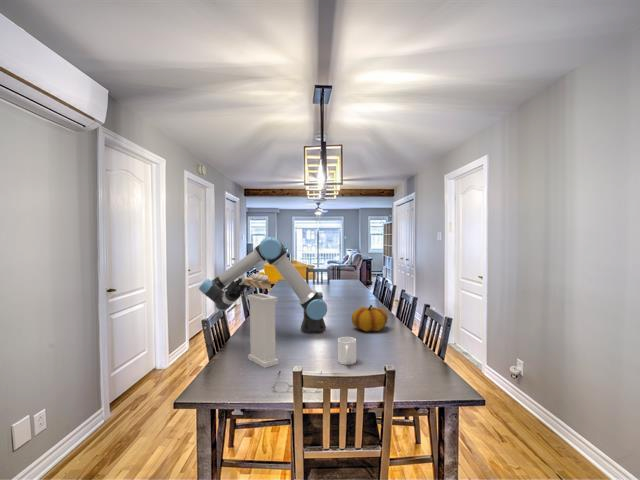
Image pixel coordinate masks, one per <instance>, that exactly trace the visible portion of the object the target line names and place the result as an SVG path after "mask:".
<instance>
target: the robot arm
mask: <svg viewBox="0 0 640 480" xmlns="http://www.w3.org/2000/svg"><path fill="white" fill-rule="evenodd" d="M287 254H288V252H287V251H286V249H285V248H284V246H283V245H282V244H281V242H280V241H279V239H277V238H276V237H274V236H267V237H265V238H263V239H262V240H261V241H260V243H259V244H258V245H256V246H255V247H254V249H253V251H251V252H250V253H248V254H247V255H246V256H244V257H243V258H241V259H240V260H239V261H237V262H236V263H234V264H232V266H230V267H229V268H228V269H226V270H225V271H223V272H222V273H221V274H219V275H218V276H216V277H215V278H213V279H210V278H207V279H205V280H204V281H203V282H202V283H201V285H199V287H198V290H199V291H200V292H201V293H202V294H203V295H205V296H206V297H207V298H209V299H210V300H211V301H212V302H213V303H214V306H215V308H216V310H217V311H220V312H225V311H227V310H229V309H230V307H231V306H232V305H233V304H235V302H236V301H238V299H239V298H241V295H242V293H244V291H247V292H249V291H250V289H251V288H252V286H248V285H243V282H244V281H245V280H246V279H247V278H246V277H247V275H246V273H247V272H248V271H250V270H251V269H253V268H254V267H255V266H257V265H258V264H259V263H261V262H265V261H266V262H267V264H269V266H273V267H274V268H275V269H276V271H277V272H278V273H279V274H280V276H281V277H282V278H283V280H284V281H285V282H286V283H287V285H288V287H290V288H291V290H292V291H293V293H294V294H295V295H296V296H297V298H298V299H299V305H300V306H301V307H302V308H303V319H302V322H301V325H300V332H302V333H305V334H321V333H324V332H326V331H327V326H326V323H325V319H324V317H325V316H326V315H327V313H328V305H327V303H326V302H325V301H324V299H323V298H324V293H323V292H321V291H317V290H314V289H312V288H311V287H310V285H309V283H307V282H306V280H305V279H304V277H303V276H302V274H301V273H300V272H299V270H297V268H296V267H295V266H294V264H293V263H292V262H291V260H290V259H289V258H288V255H287ZM254 274H255V273H254V272H253V273H251V274H250V276H249V277H250V278H252V277H253V275H254ZM238 277H241V278H240V279H238ZM223 289H224V290H223Z"/></svg>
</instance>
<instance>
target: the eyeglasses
mask: <svg viewBox="0 0 640 480" xmlns="http://www.w3.org/2000/svg"><path fill="white" fill-rule="evenodd" d="M321 372H322V371H320V373H321ZM280 373H282V371H281V370H279V371H278V373H277V377H276V378H275V379H274V380H275V381H274V384H273V385H272V386H271V389H273V390H274V391H275V392H278V391H277V390H276V388H275V387H276V384H278V383H280V381H277V379H278V376H279V375H280ZM283 383H285V384H287V386H288V389H287V390H285V392H286V393H287V392H288V391H289V390H290V387H291V388H292V387H293V385H294V384H293V385H292V384H291V385H290V384H289V383H288V382H286V381H282V384H283ZM302 391H303V392H304V393H306V392H307V391H306V390H305V389H304V388H302ZM317 391H319V388H317V389H316V391H314V392H315V393H317Z"/></svg>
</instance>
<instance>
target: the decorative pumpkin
mask: <svg viewBox="0 0 640 480" xmlns="http://www.w3.org/2000/svg"><path fill="white" fill-rule="evenodd" d="M351 323H352V324H353V326H354V327H355V328H356V329H358V330H360V331H364V332H367V333H368V332H380V330H382V329H383V328H384V327H385V326H386V324H387V323H388V314H387V312H386V311H385V309H383V308H380V307H378V308H377V307H375V306H373V305H372V304H370V305H369V307H365V306H361V307H359V308H358V309H356V310H355V311H353V313H352V314H351Z"/></svg>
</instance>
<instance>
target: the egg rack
mask: <svg viewBox="0 0 640 480" xmlns="http://www.w3.org/2000/svg"><path fill="white" fill-rule="evenodd" d="M241 277H242V276H240V277H238V278H237V280H238V279H240V278H241ZM246 278H247V279H246V280H245V281H244V282H243V285H248V286H252V287H253V288H258V289H262V290H265V289H271V288H272V281H271V280H270V278H269V276H268V275H266V274H261V273H260V274H259V273H254V275H253V277H252V278H250V276H246ZM252 287H251V288H252Z"/></svg>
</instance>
